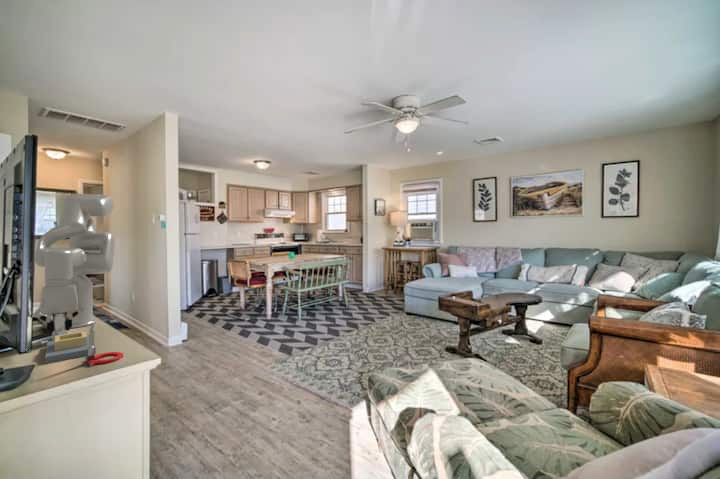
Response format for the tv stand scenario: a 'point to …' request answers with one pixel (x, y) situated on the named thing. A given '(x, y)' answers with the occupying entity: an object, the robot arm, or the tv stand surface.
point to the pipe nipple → (59, 324)
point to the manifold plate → (67, 347)
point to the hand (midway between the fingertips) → (59, 330)
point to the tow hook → (93, 359)
